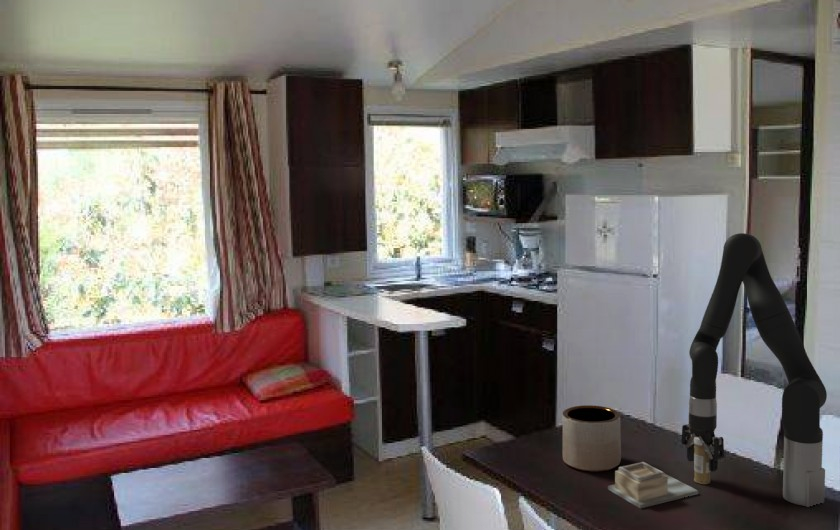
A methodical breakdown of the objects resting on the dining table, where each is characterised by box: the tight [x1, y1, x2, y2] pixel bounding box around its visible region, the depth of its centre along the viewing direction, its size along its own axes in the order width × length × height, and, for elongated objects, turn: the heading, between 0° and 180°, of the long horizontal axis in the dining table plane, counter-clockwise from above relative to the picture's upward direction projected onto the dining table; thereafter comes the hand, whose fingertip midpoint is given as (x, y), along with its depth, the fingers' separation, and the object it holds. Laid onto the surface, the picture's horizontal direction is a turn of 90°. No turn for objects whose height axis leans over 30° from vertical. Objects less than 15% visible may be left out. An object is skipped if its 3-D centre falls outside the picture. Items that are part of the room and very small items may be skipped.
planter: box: [562, 404, 622, 472], centre depth 234 cm, size 18×18×16 cm
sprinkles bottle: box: [693, 437, 711, 485], centre depth 217 cm, size 5×5×14 cm
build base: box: [607, 461, 699, 509], centre depth 212 cm, size 14×20×7 cm
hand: (701, 465), depth 217 cm, fingers open, 8 cm apart
